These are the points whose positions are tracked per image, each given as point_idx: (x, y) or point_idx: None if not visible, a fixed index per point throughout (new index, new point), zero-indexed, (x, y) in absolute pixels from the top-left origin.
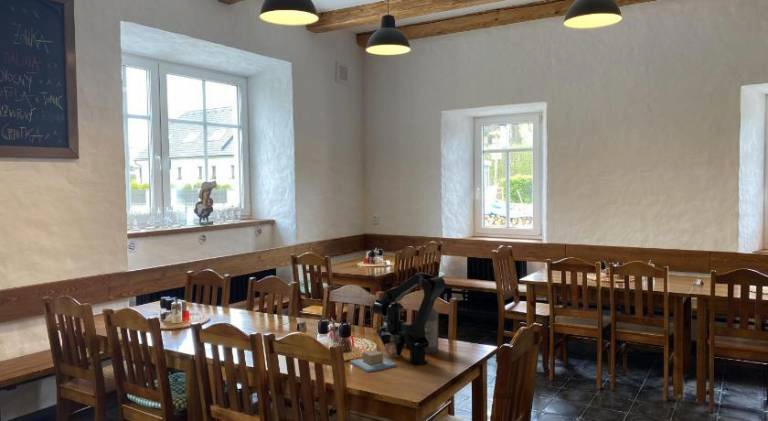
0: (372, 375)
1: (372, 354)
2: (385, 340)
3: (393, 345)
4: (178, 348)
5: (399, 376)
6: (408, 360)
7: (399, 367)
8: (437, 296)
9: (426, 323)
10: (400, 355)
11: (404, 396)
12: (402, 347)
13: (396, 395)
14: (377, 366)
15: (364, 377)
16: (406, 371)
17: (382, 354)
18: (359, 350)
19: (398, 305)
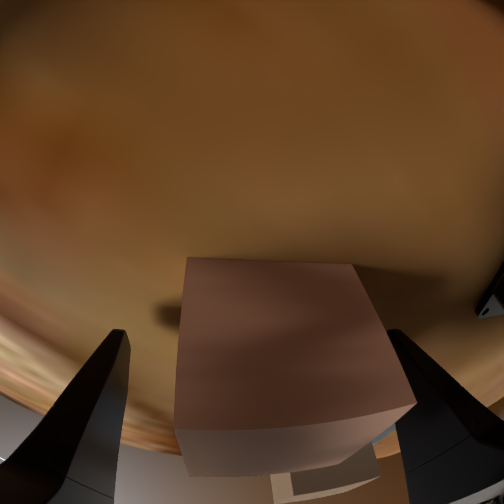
0: (389, 438)
1: (341, 491)
2: (103, 479)
3: (327, 457)
4: None
5: (475, 388)
6: (485, 308)
7: (454, 370)
8: None
9: None
10: (351, 278)
11: (501, 396)
12: (466, 400)
13: (487, 406)
14: (372, 440)
15: (376, 449)
16: (491, 360)
17: (377, 471)
18: (17, 385)
19: None
